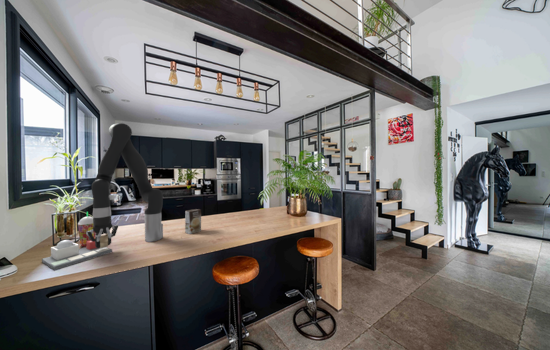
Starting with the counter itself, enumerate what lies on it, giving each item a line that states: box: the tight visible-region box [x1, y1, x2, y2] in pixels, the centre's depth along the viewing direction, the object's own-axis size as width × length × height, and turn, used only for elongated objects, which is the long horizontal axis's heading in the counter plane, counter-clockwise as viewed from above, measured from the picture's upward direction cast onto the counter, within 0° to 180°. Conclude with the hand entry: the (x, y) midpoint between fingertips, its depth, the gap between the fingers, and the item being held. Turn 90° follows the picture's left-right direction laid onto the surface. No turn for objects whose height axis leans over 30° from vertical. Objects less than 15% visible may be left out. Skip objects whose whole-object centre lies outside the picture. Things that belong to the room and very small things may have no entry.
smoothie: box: [77, 211, 96, 247], centre depth 119 cm, size 8×8×20 cm
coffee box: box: [184, 208, 202, 235], centre depth 144 cm, size 9×6×16 cm
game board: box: [41, 241, 113, 271], centre depth 103 cm, size 22×17×6 cm
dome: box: [55, 239, 74, 249], centre depth 101 cm, size 6×6×6 cm
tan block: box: [99, 234, 109, 248], centre depth 108 cm, size 4×4×6 cm
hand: (103, 246), depth 108 cm, fingers closed on tan block, 4 cm apart
